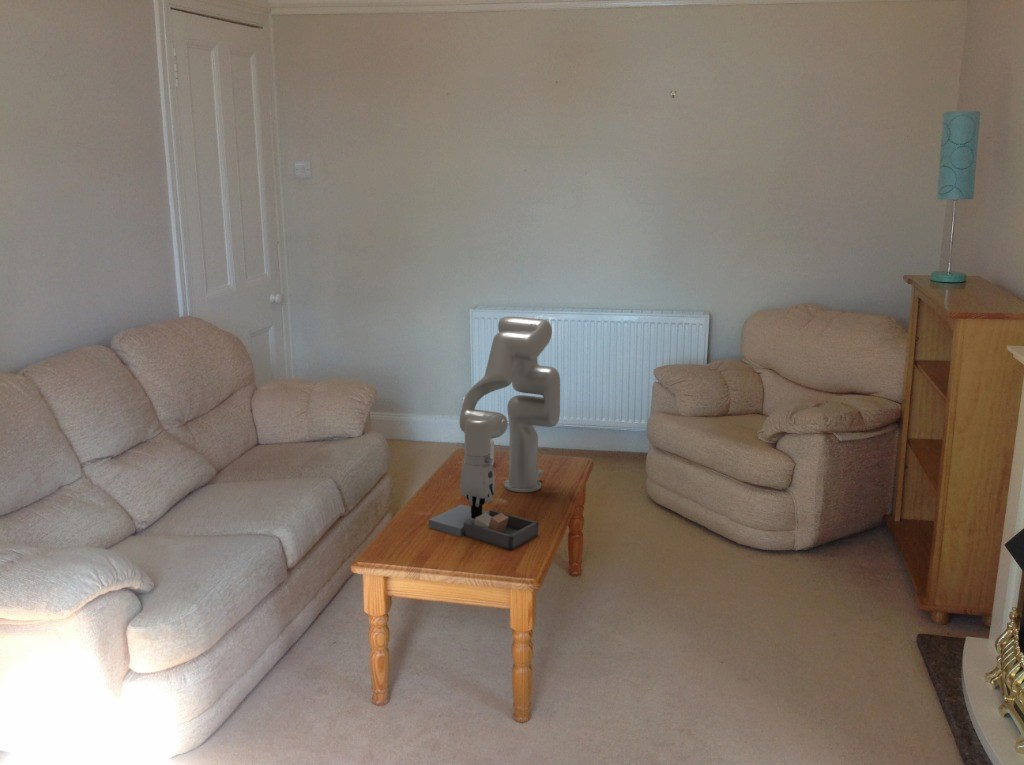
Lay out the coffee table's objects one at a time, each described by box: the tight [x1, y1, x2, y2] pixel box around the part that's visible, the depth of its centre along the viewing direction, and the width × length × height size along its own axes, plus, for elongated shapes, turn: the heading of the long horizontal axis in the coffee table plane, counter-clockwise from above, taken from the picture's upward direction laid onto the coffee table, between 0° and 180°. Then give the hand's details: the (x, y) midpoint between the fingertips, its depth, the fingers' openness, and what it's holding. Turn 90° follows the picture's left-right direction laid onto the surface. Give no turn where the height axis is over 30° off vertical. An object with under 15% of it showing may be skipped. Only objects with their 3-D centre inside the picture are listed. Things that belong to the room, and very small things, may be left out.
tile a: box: [474, 513, 491, 528], centre depth 286 cm, size 5×5×3 cm
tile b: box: [488, 512, 509, 533], centre depth 283 cm, size 5×5×3 cm
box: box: [462, 509, 539, 551], centre depth 283 cm, size 14×17×4 cm
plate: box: [428, 504, 489, 537], centre depth 292 cm, size 16×12×2 cm
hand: (476, 517), depth 288 cm, fingers closed
